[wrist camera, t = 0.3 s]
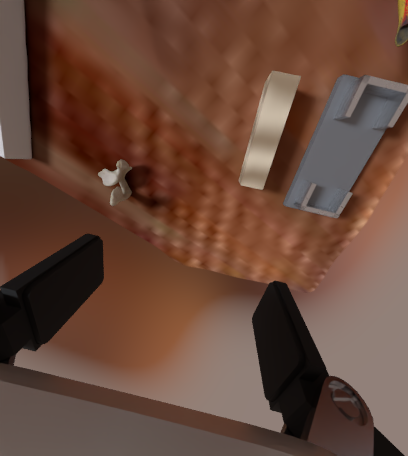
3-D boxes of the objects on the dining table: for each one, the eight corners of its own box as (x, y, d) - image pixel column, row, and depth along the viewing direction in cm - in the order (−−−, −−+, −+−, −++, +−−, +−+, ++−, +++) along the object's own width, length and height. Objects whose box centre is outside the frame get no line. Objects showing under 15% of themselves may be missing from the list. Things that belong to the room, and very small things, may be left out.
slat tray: (337, 78, 27) (343, 74, 26) (399, 92, 27) (409, 90, 26) (282, 203, 36) (285, 205, 35) (329, 215, 36) (333, 217, 35)
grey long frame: (350, 82, 26) (364, 74, 23) (396, 93, 26) (416, 87, 23) (293, 204, 34) (299, 209, 32) (328, 212, 34) (337, 218, 32)
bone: (99, 147, 34) (95, 163, 26) (134, 155, 37) (139, 171, 30) (98, 188, 38) (95, 211, 31) (130, 192, 41) (134, 214, 34)
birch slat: (264, 82, 28) (272, 70, 24) (288, 87, 28) (301, 76, 24) (238, 180, 35) (240, 185, 31) (257, 184, 35) (262, 189, 31)
